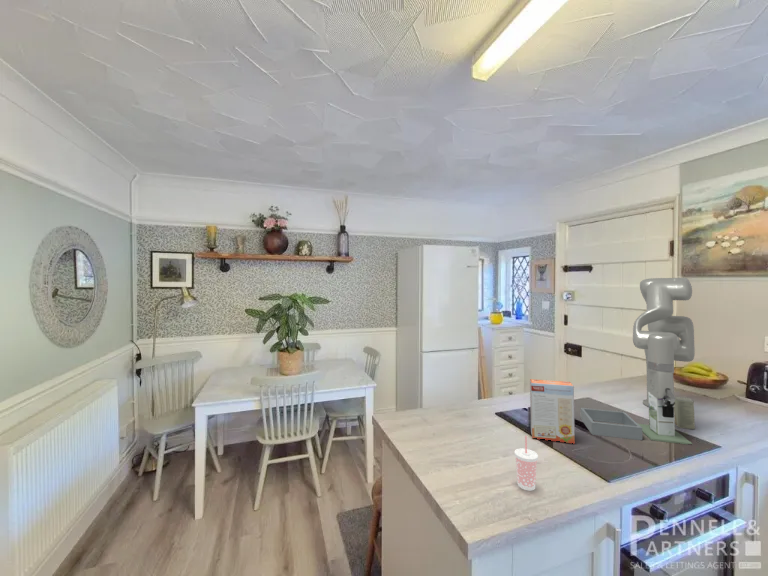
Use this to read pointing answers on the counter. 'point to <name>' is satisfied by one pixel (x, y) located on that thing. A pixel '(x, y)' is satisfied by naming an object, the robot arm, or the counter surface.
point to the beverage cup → (526, 467)
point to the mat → (672, 439)
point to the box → (684, 413)
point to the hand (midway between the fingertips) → (661, 412)
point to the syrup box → (659, 418)
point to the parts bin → (613, 430)
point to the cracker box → (552, 410)
